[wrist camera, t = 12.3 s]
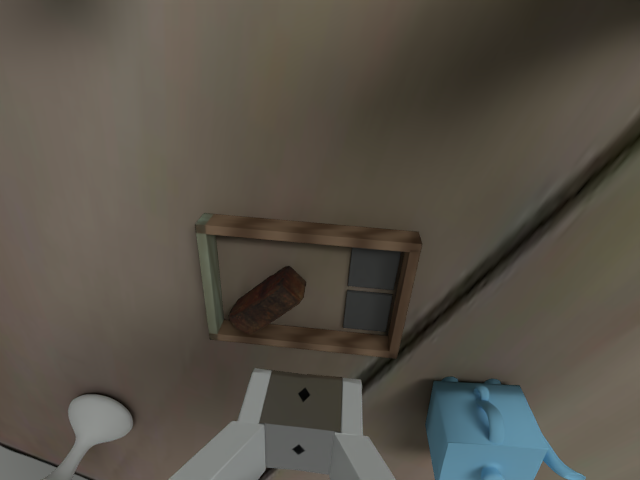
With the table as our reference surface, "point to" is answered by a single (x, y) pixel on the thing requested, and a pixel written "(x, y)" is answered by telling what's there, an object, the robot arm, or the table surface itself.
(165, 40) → the table surface
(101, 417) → the flower in vase
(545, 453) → the teapot
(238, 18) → the table surface
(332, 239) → the box
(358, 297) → the trap pits
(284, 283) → the brick
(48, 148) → the table surface
